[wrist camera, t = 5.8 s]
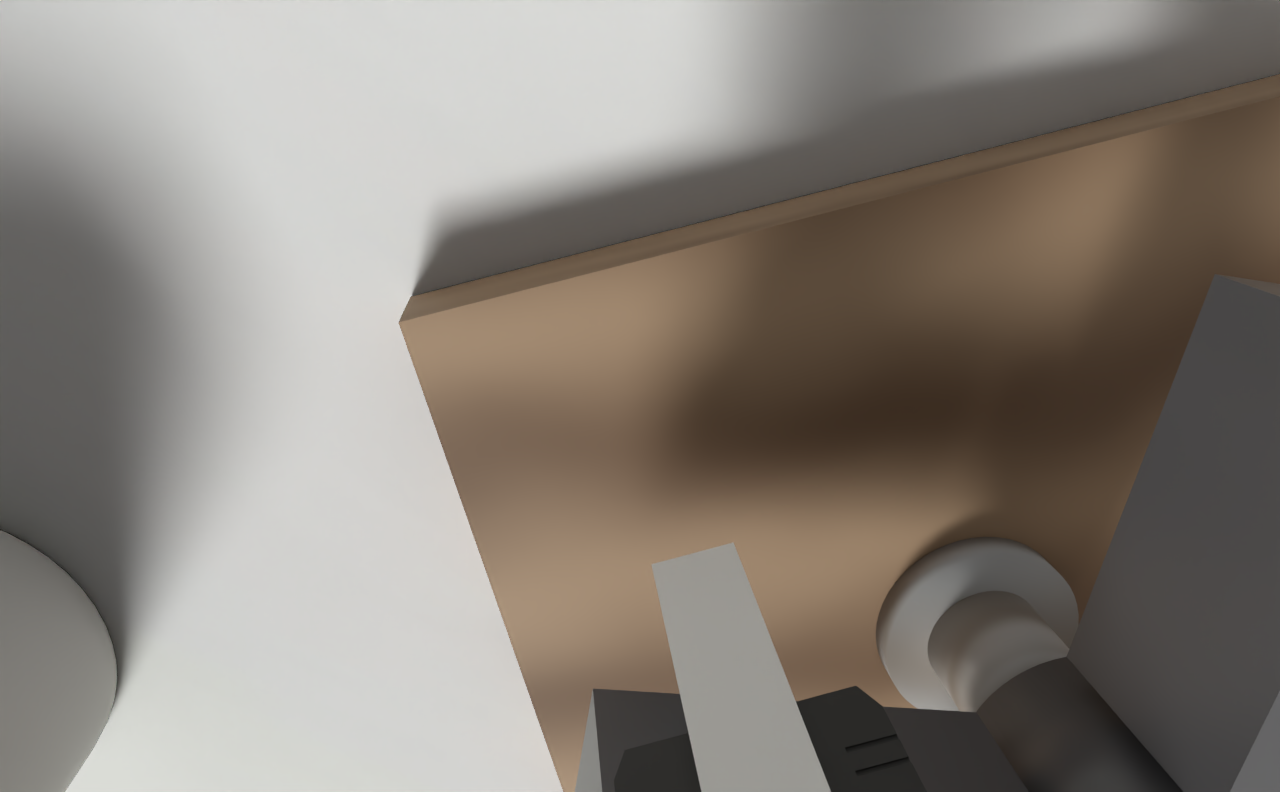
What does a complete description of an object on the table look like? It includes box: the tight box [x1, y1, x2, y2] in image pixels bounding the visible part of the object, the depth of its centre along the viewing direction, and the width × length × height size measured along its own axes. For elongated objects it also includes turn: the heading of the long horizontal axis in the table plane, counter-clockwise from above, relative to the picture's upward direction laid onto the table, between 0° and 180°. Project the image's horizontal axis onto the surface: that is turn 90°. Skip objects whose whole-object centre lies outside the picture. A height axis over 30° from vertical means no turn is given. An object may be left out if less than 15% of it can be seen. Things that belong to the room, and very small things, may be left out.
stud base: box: [399, 74, 1280, 792], centre depth 22 cm, size 22×22×6 cm
